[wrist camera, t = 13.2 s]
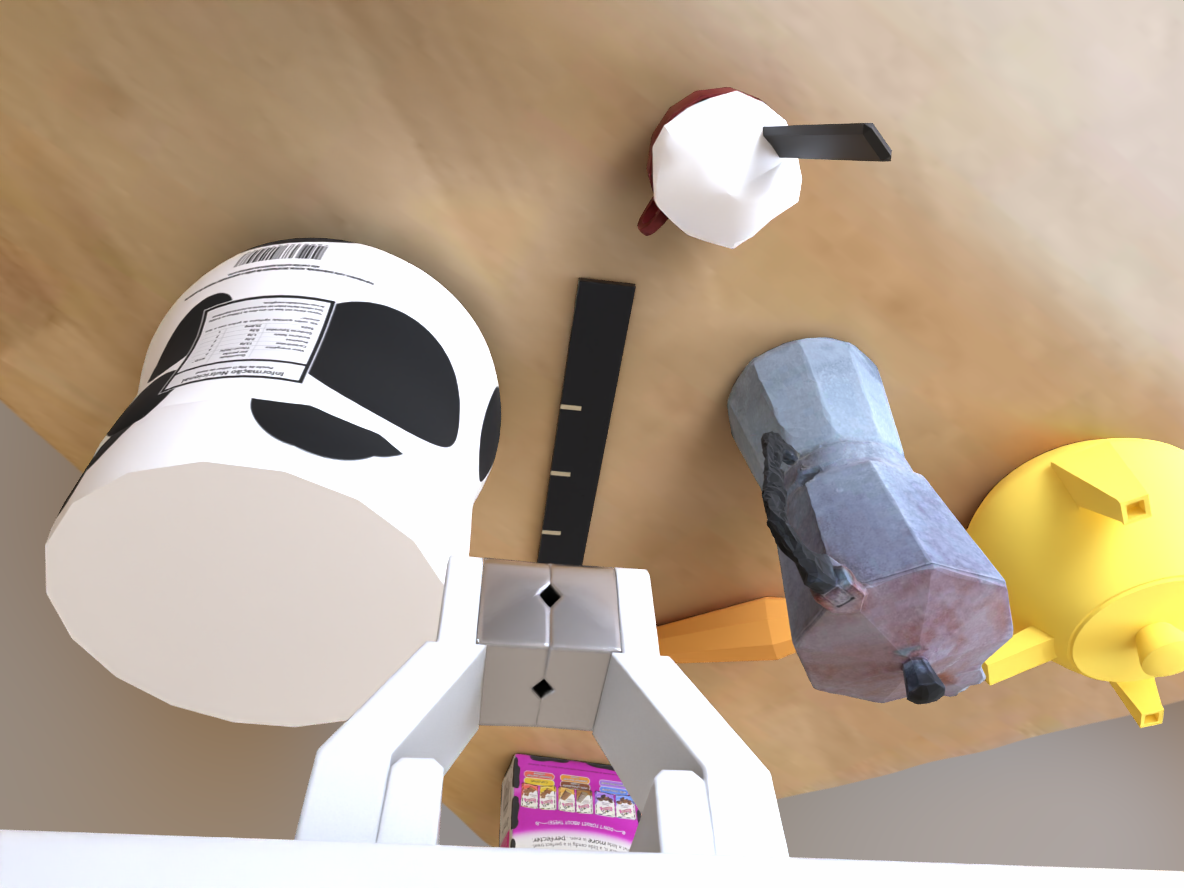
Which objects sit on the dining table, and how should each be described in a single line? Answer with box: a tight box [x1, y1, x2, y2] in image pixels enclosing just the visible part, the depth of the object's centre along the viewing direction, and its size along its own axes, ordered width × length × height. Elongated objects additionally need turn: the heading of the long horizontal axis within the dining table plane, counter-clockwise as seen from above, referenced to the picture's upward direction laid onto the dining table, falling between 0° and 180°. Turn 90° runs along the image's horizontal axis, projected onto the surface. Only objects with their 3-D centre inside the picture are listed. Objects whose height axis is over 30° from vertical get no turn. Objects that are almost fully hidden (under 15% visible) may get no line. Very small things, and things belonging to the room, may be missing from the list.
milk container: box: [45, 238, 501, 727], centre depth 39 cm, size 17×17×18 cm
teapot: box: [966, 438, 1184, 728], centre depth 50 cm, size 17×17×12 cm
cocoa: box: [637, 87, 892, 249], centre depth 35 cm, size 10×6×12 cm, turn 111°
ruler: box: [537, 278, 636, 565], centre depth 51 cm, size 26×3×1 cm, turn 172°
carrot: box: [656, 597, 796, 663], centre depth 60 cm, size 20×4×4 cm, turn 109°
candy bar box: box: [499, 754, 641, 852], centre depth 66 cm, size 11×5×16 cm, turn 73°
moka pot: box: [727, 338, 1013, 704], centre depth 41 cm, size 10×15×20 cm, turn 50°
